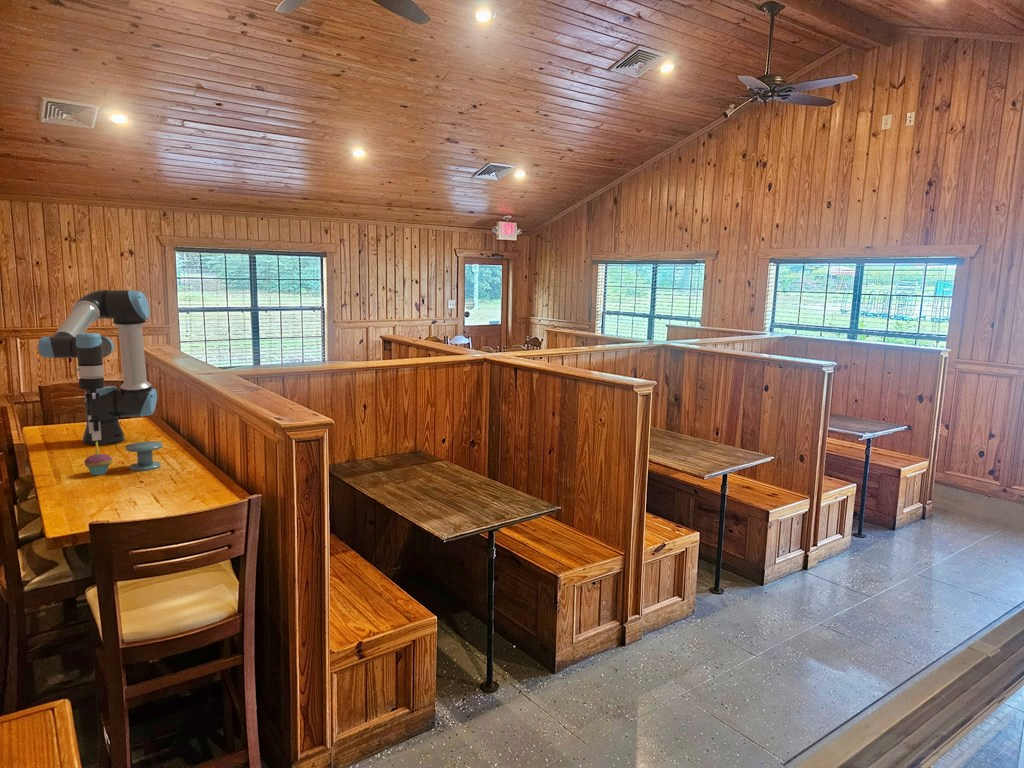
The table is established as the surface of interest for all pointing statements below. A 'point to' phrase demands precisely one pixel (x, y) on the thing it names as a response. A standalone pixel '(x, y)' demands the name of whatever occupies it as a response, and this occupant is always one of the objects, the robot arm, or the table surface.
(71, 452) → the table surface
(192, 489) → the table surface
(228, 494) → the table surface
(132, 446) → the cake stand
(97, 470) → the cupcake
